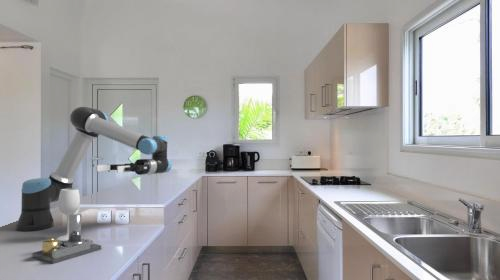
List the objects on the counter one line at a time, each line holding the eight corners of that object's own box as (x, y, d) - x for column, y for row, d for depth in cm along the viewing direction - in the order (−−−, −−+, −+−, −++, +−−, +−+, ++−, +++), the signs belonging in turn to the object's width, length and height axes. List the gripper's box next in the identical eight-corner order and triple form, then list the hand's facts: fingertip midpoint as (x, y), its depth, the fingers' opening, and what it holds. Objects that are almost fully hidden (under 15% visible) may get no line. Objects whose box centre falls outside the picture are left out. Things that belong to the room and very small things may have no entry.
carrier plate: (31, 256, 113) (31, 238, 113) (79, 243, 129) (80, 227, 129) (53, 263, 106) (53, 244, 107) (101, 249, 122) (101, 232, 122)
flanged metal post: (59, 247, 119) (60, 215, 120) (77, 242, 125) (78, 212, 126) (71, 250, 116) (72, 217, 116) (88, 245, 122) (89, 213, 122)
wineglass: (69, 241, 132) (70, 190, 132) (51, 240, 133) (52, 190, 134) (84, 236, 140) (85, 188, 141) (67, 235, 142) (68, 187, 142)
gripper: (163, 175, 150) (126, 178, 131) (127, 173, 162) (88, 176, 144) (163, 159, 150) (126, 160, 132) (127, 158, 162) (89, 159, 144)
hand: (106, 168), depth 138 cm, fingers open, 13 cm apart
